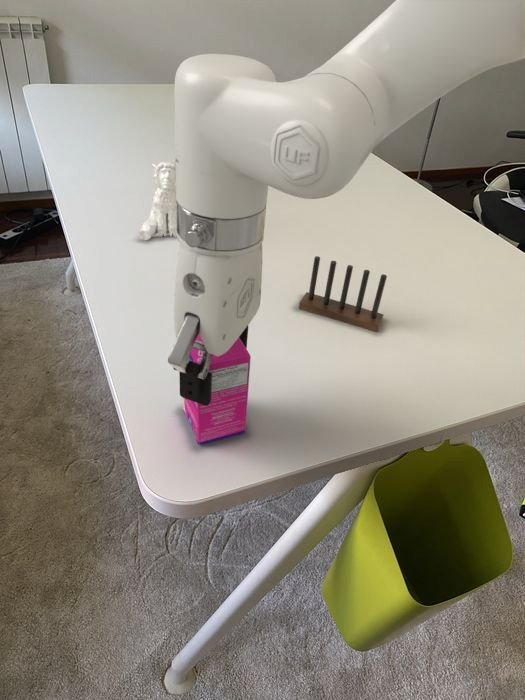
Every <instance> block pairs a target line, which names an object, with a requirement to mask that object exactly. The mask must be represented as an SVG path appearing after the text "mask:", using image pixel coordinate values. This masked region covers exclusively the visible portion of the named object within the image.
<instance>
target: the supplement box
mask: <svg viewBox="0 0 525 700" xmlns="http://www.w3.org/2000/svg"><path fill="white" fill-rule="evenodd" d="M196 340H197V341H200V342H203V341H202V339H201V336H200V334H198V336H197V338H196ZM203 353H204V351H201V350H198V349H195V348H192V350H191V353H190V359H191V361H192V362H195V363H197V364H201V360H202V356H203ZM251 356H252V355H251V354H250V352H249V350H248V348H247V349H246V347H245V346H244V344H243V343H242V341H241V339H240V338H238V339H237V340H236V341H235V343H234V344H233V345H232V346H231V348H230V349H229V350H228V351H227V352H226V353H224V354H223V355H221V356H215V355H213V356H212V360H211V363H210V367H209V370H208V372H210V373H212V387H211V402H210V403H209V405H208V406H205V405H202V404H199V403H196V402H193V401H191V400H188V399H185V398H183V397H182V411H183V413H184V416H185V417H186V419H187V421H188V424H189V426H190V429H191V430H192V433H193V435H194V438H195V441H196V443H197V445H198V446H201V445H204V444H207V443H212V442H215V441H216V442H217V441H219V440H223V439H226V438H230V437H235V436H239V435H243V434H246V427H247V426H246V425H247V414H248V413H247V411H248V399H249V398H248V397H249V383H250V372H251V371H250V370H251V358H252V357H251Z"/></svg>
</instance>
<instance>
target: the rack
mask: <svg viewBox="0 0 525 700" xmlns="http://www.w3.org/2000/svg"><path fill="white" fill-rule="evenodd" d="M313 259H314V260H313V266H312V270H311V271H312V272H311V278H310V282H309V283H310V284H309V290H308V291H306V292H305V293H304V295H303V296H302V298H301V299H300V300H299V304H298V309H300V310H302V311H306V312H309V313H312V314H316V315H319V316H322V317H325V318H329V319H332V320H336V321H338V322H342V323H346V324H349V325H353V326H355V327H359V328H362V329H366V330H369V331H372V332H376V333H377V332H378V331H379V329H380V326H381V324H382V322H383V319H384V313H381V312H378V311H379V309H380V304H381V300H382V297H383V293H384V289H385V285H386V282H387V277H388V276H387V274H384V273H382V274H381V275H380V278H379V281H378V286H377V290H376V293H375V297H374V302H373V306H372V310H370V309H367V308H364V307H363V303H364V298H365V294H366V290H367V285H368V281H369V277H370V274H371V271H370V270H369V269H364V270H363V274H362V278H361V283H360V287H359V291H358V295H357V300H356V304H355V305H354V304H350V303H347V297H348V293H349V288H350V283H351V280H352V279H351V278H352V274H353V269H354V266H353V265H351V264H349V265H347V266H346V271H345V275H344V280H343V285H342V289H341V290H342V291H341V294H340V299H339V300H335V299H332V298H331V293H332V288H333V283H334V279H335V273H336V267H337V261H336V260H331V261H330V264H329V269H328V274H327V281H326V287H325V292H324V295H323V296H322V295H319V294H315V292H316V287H317V279H318V274H319V269H320V261H321V257H320V256H318V255H317V256H314V258H313Z"/></svg>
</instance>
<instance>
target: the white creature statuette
mask: <svg viewBox="0 0 525 700" xmlns="http://www.w3.org/2000/svg"><path fill="white" fill-rule="evenodd" d="M150 165H151V167H152V169H153V171H154V174H153V178H154V182H155V185H156V186H157V189H156V190H155V191H154V194H153V197H152V206H151V210H150V211H149V217H148V219H146V220H145V222H143V223H142V226H141V227H140V229H139V231H138V236H139V238H140V239H141V240H144V241H149V240H150V239H151V238H157V237H161V238H162V237H167V236H169V237H174V238H177V234H176V169H175V163H174V162H172V161H162V162H159V164H155V163H150ZM167 232H168V233H167Z"/></svg>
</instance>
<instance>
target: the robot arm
mask: <svg viewBox="0 0 525 700" xmlns="http://www.w3.org/2000/svg"><path fill="white" fill-rule="evenodd" d="M524 59H525V0H395V1H394V2H392V3H391V4H390V5H389V6H388V7H387V8H386V9H385V10H384V11H382V13H380V14H379V16H377V17H376V18H375V19H374V20H373V21H372V22H371V23H369V24H368V25H367V26H366V27H365V28H364V29H363V30H362V31H361V32H359V33H358V34H357V35H356V36H355V37H354V38H352V40H351V41H349V42H348V43H347V44H345V45H344V46H343V48H342V49H340V50H339V51H337V52H336V53H335V54H334V55H333V56H332V57H331V58H329V59H328V60H327V61H326V62H324V63H323V64H322V65H321V66H319V67H317V68H315V69H314V70H312V71H311V72H309V73H308V74H306V75H304V76H303V77H299V78H296V79H293V80H288V81H282V82H278V81H277V80H276V75H275V73H274V72H273V71H272V69H271V68H270V67H269V66H268V65H267V64H265V63H263V62H261V61H259V60H257V59H254V58H251V57H247V56H243V55H235V54H228V53H227V54H225V53H204V54H197V55H193V56H190V57H188V58H186V59H185V60H183V61H182V62H181V63H180V65H179V66H178V68H177V69H176V72H175V76H174V85H173V86H174V90H173V99H174V100H173V102H174V158H175V159H174V160H175V161H174V162H175V163H174V164H175V169H176V234H177V236H176V239H177V241H178V242H179V243H180V244H179V247H178V254H177V255H178V256H177V261H176V262H177V263H176V271H175V272H176V273H175V284H174V285H175V286H174V287H175V288H174V307H173V308H174V309H173V310H174V311H173V312H174V313H173V315H174V318H173V319H174V333H175V342H174V344H173V346H172V348H171V350H170V352H169V355H168V357H167V363H168V365H170V366H171V367H172V368H173V371H177V372H179V376H178V377H179V396H180V397H181V398H182V399H183V398H185V399H188V400H191V401H193V402H196V403H199V404H202V405H205V406H208V405H209V403H210V402H211V387H212V373H210V372H208V370H209V367H210V363H211V360H212V356H213V355H215V356H221V355H223V354H224V353H226V352H227V351H228V350H229V349H230V348H231V346H232V345H233V344H234V343H235V341H236V340H237V339H238V338H240V339H241V341H242V343H243V344H244V346H245V347H246V349H247V350H248V348H247V347H248V337H249V336H248V335H249V325H250V324H251V322H252V320H253V319H254V318H255V317H256V315H257V313H258V311H259V310H260V305H261V299H262V281H263V280H262V279H263V242H264V235H265V225H266V213H267V204H268V195H269V194H268V193H269V187H270V188H273V189H275V190H277V191H279V192H282V193H284V194H286V195H289V196H292V197H296V198H301V199H305V200H320V199H324V198H325V199H326V198H327V197H331V196H333V195H335V194H336V193H338V192H340V191H342V190H343V189H344V188H345V187H346V186H347V185H349V183H350V182H351V181H352V180H353V178H354V177H355V176H356V175H357V174H358V172H359V170H360V169H361V167H362V166H363V165H364V163H365V162H366V160H368V157H369V156H370V155H371V153H372V152H373V151H374V149H375V148H376V147H377V146H378V145H379V144H380V143H381V142H382V141H384V140H385V139H386V138H388V137H389V136H390V135H391V134H392V133H394V132H395V131H396V130H397V129H399V128H400V127H401V126H403V125H404V124H406V123H407V122H408V121H411V119H412V118H414V117H415V116H417V115H418V114H420V112H422V111H424V110H425V109H426V108H427V107H430V105H432V104H434V103H436V101H438V100H439V99H441V98H442V97H444V96H446V94H448V93H449V92H451V91H452V90H454V89H456V88H457V87H459V86H460V85H462V84H464V83H466V82H467V81H469V80H472V79H473V78H475V77H476V76H478V75H480V74H482V73H484V72H486V71H489V70H491V69H495V68H497V67H499V66H503V65H508V64H511V63H516V62H518V61H522V60H524ZM198 334H200V336H201V339H202V341H203V342H200V341H197V340H196V338H197V336H198ZM192 348H195V349H198V350H201V351H204V353H203V356H202V360H201V364H197V363H195V362H192V361H191V359H190V353H191V350H192Z"/></svg>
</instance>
